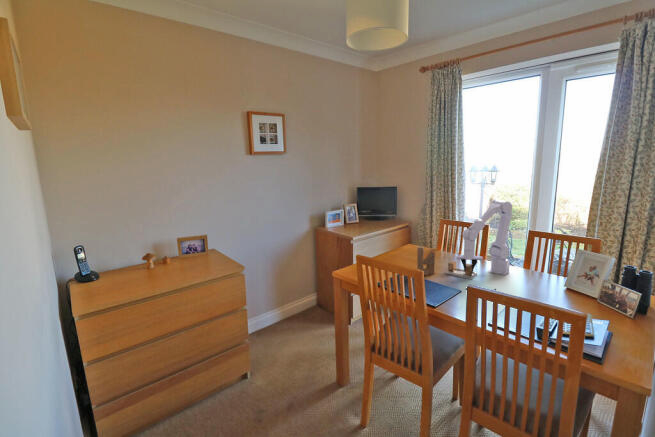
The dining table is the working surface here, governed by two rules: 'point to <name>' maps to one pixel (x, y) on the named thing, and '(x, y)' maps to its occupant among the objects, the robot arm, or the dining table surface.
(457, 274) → the rail
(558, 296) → the dining table surface
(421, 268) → the wooden block
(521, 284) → the dining table surface
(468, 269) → the tan cardboard box
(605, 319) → the dining table surface
